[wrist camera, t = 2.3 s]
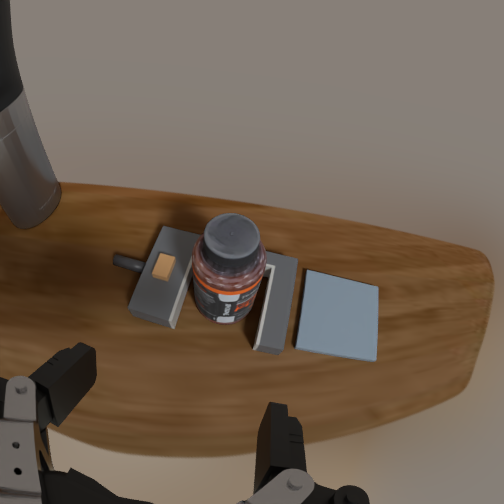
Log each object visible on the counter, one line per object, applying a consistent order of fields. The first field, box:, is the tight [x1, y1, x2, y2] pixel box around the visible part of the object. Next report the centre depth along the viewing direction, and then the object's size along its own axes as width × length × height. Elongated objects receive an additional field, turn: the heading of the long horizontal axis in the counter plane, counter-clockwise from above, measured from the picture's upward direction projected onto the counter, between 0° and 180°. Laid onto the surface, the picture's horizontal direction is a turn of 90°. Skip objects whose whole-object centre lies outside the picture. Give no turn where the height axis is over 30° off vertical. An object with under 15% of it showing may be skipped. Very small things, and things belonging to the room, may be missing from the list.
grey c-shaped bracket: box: [113, 226, 298, 355], centre depth 29 cm, size 19×10×3 cm, turn 78°
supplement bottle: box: [192, 213, 267, 325], centre depth 25 cm, size 6×6×11 cm
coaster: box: [295, 270, 378, 362], centre depth 30 cm, size 9×9×1 cm
